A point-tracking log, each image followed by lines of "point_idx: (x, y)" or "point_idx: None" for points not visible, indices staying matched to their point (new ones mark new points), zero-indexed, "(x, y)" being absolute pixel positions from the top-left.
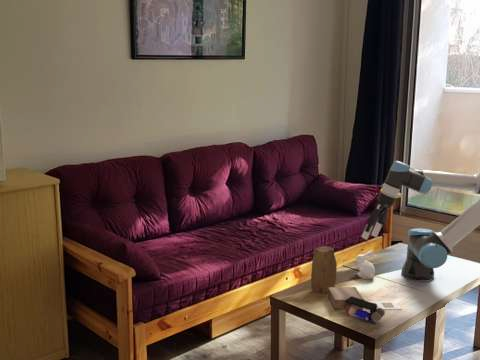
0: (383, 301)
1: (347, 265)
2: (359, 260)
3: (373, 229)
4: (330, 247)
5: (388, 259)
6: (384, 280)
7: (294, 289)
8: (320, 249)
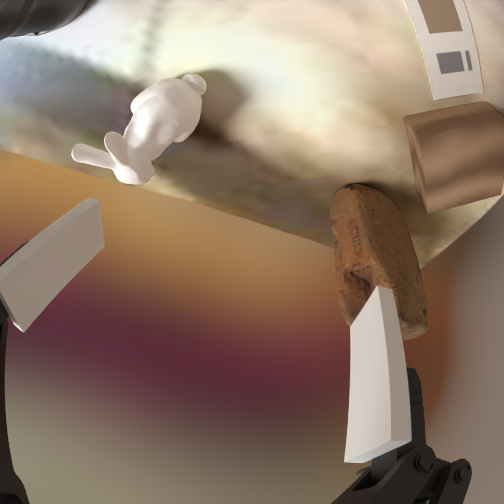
0: (415, 22)
1: None
2: (149, 164)
3: (71, 277)
4: None
5: (10, 111)
6: (168, 35)
7: None
8: None
